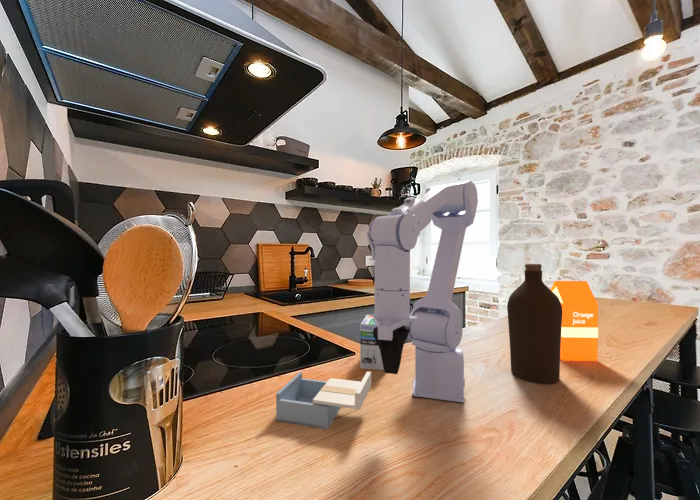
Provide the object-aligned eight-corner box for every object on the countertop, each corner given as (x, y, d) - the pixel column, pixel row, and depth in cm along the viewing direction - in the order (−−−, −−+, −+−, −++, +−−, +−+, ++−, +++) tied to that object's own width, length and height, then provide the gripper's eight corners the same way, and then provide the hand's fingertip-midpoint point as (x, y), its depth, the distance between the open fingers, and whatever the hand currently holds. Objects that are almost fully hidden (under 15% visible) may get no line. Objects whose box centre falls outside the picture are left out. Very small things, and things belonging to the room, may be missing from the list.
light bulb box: (387, 372, 72) (388, 325, 72) (359, 369, 73) (359, 324, 73) (391, 356, 82) (391, 315, 82) (366, 354, 84) (366, 314, 84)
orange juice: (598, 361, 79) (598, 282, 79) (563, 360, 79) (563, 282, 79) (576, 350, 87) (577, 279, 87) (544, 350, 87) (545, 279, 87)
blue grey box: (343, 402, 58) (343, 377, 58) (327, 429, 49) (327, 400, 49) (299, 395, 60) (299, 372, 60) (276, 420, 51) (276, 393, 51)
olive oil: (524, 386, 65) (522, 266, 64) (499, 366, 75) (498, 263, 75) (575, 384, 65) (573, 265, 64) (543, 365, 75) (542, 262, 75)
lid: (371, 385, 56) (371, 371, 56) (359, 409, 48) (359, 393, 48) (330, 380, 58) (330, 367, 58) (312, 402, 50) (312, 387, 50)
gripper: (413, 296, 43) (413, 395, 43) (419, 284, 57) (419, 359, 57) (363, 294, 44) (363, 388, 45) (381, 283, 58) (380, 355, 58)
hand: (391, 372), depth 51 cm, fingers closed
